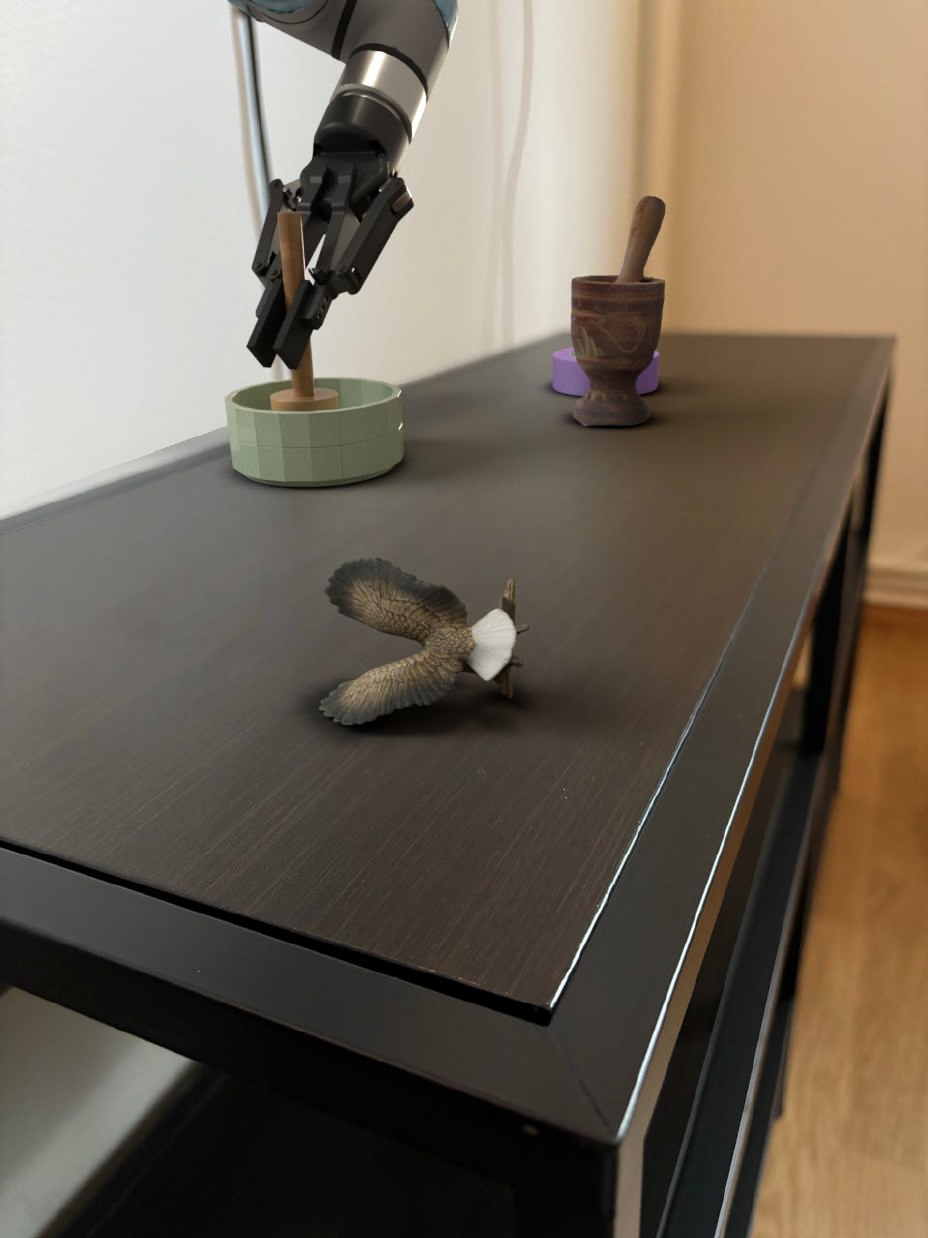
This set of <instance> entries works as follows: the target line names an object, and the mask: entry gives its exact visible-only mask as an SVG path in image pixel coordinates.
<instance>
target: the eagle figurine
mask: <svg viewBox="0 0 928 1238" xmlns="http://www.w3.org/2000/svg"><path fill="white" fill-rule="evenodd" d="M327 582H328V585H326V586H325V587H324V589H323V591H322V592H323V593H324V594H325V595H326V596H328V602H329V603H330V604H332V605H333V606H336V607H337V608H336V612H337V613H338V614H340V615H343V616H345V617H347V618H350V619H352V620H355V621H357V622H359V623H362V624H364V625H366V626H368V627H370V628H372V629H374V630H376V632H380V633H381V634H387V635H390V636H396V637H400V638H401V637H402V638H405V639H407V640H411V641H415V642H417V643H418V644H420V645H421V647H423V649H422V650H421V651H419V652H417V653H415V654H413V655H410V656H407V657H405V658H402V659H399V660H396V661H392V662H390V663H385V664H383V665H381V666H378V667H375V668H372V669H370V670H367V671H366V672H365V673H363V674H362V675H361V676H359V677H358V678H357V679H353V680H347V681H344V682H341V683H340V684H339V685H338V687H337V688H335V689H334V690H332V691H330V692H329V694H328V697H325V698H323V699H321V700H320V706H319V708H318V710H319V711H321V712H323V716H325V717H326V718H333V722H334V723H339V722H341V724H342V725H344V726H353V725H356V724H357V725H363V724H366V723H368V722H373V721H376V720H377V719H378V717H379V716H386V715H390V714H392V713H393V712H395V710H396V709H397V710H403V709H404V708H410V707H412V706H413V705H415V704H416V705H417V706H419V707H421V706H424V705H425V706H431V705H432V704H435V703H438V702H439V701H440V700H441V699H442V698H446V697H449V696H450V694H451V692H452V691H454V690H455V682H457V681H458V680H459V678H460V676H459V673H468V674H475V675H477V676H480V678H481V679H482V680H484V681H486V682H490V681H493V682H495V683H496V684H497V685H498V687H499V691H500V694H501V695H502V696H506V697H507V698H508V699H509V700H510V699H512V697H513V693H514V689H513V683H512V668H513V667H516V668H523V667H524V665H525V663H524V661H523V660H521V659H520V657H519V656H517V655H514V651H515V648H516V644H517V636H518V635H521V634H522V633H525V632H528V631H529V629H530V625H529V624H526V623H525V624H521V625H516V611H517V609H516V603H515V601H516V579H515V578H514V577H512V578H509V580H508V581H507V584H506V588H505V590H504V593H503V595H500V598H499V608H498V607H497V608H494V609H492V610H491V611H489V612H488V613H487V614H486V615H484V616H483V617H482V618H481V619H479V620H478V621H477V622H475V623H474V624H473V625H467V615H468V610H467V609H466V604H465V602H463V601H461V598H460V597H458V596H457V594H456V593H454V592H453V591H452V590H451V589H449V588H448V587H447V586H446V585H445V584H443V583H432V582H431V583H430V582H429V583H427V582H425V581H424V580H421V579H418V578H417V577H416V575H415V574H413V573H409V572H406V571H403V570H402V569H401V568H400V567H398V566H394V565H393V564H392V562H391V561H390V560H389V559H387V558H383V559H382V558H381V557H379V556H375V557H374V559H373V558H371V557H366V558H362V557H360V558H358V559H351V560H350V561H342V562H341V563H340V567H336V568H334V569H333V573H332V574H331V575H329V576H328V577H327Z"/></svg>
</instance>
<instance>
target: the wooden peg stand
mask: <svg viewBox="0 0 928 1238" xmlns="http://www.w3.org/2000/svg"><path fill="white" fill-rule="evenodd" d="M277 215H278V226H279V238H280V249H281V260H282V272H283V283H284V295H285V306H286V315H287V313H288V311H289V308H290V306H291V303H292V301H293V299H294V296H295V294H296V292H297V289H298V287H299V284H300V282H301V280H307V273H306V271H307V270H305V258H304V246H303V233H302V220H301V212H278V213H277ZM313 362H314V361H313V349H312V336H311V337H310V340H309V342H308V344H307V347H306V349H305V352H304V354H303V357H302V359H301V362H300V364H299V366H298V369H297V370H290V372H291V373H290V374H291V379H292V386H293V389H289V390H283V391H279V392H276V393H273V394H272V395H271V396H270V401H271V411H282V412H289V411H322V410H336V409H339V400H338V393H337V392H336V391H334V390H331V389H324V388H315V386H314V378H315V375H314V373H315V372H314V363H313Z"/></svg>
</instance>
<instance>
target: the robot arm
mask: <svg viewBox="0 0 928 1238" xmlns="http://www.w3.org/2000/svg"><path fill="white" fill-rule="evenodd" d="M226 1H227V2H228V3H229V4H231V6H234V7H236V8H237V9H239V10H240V11H242V12H244V13H246V14H247V15H248V16H250V17H251V18H253V19H254V21H255V22H258V23H262V24H266V25H268V26H270V27H272V28H274V29H276V30H278V31H280V32H282V33H283V34H286V35H288V36H290V37H292V38H294V39H295V40H298V41H299V42H302V43H304V44H306V45H308V46H310V47H311V48H314V49H316V50H318V51H320V52H322V53H324V54H326V55H328V56H330V57H331V58H332V59H334V60H336V61H338V62H341V63H343V64H344V65H345V66H344V68H343V70H342V72H341V74H340V77H339V78H338V81H337V83H336V85H335V88H334V89H333V92H332V94H331V97H330V98H329V102H328V104H327V107H326V108H325V110H324V112H323V115H322V117H321V120H320V121H319V124H318V127H317V129H316V130H315V133H314V136H313V140H312V141H313V143H312V156H311V159H310V161H309V162H308V164H307V165H306V166H304V167H303V168H302V170H301V171H300V174H299V178H297V179H295V180H293V181H290V182H288V183H286V184H284V182H283V181H282V179H281V178H274V179H273V180H271V181H270V182H269V184H268V191H269V199H270V200H269V204H268V207H267V208H268V209H267V212H266V215H265V218H264V222H263V226H262V229H261V231H260V236H259V239H258V243H257V246H256V250H255V253H254V257H253V260H252V264H251V268H250V269H251V270H252V272H253V274H254V275H255V276H256V277H257V279H258V280H259V282H260V283H261V284H262V286H264V290H263V293H262V294H261V297H260V300H259V302H258V305H257V306H256V308H255V317H256V318H257V320H256V323H255V325H254V327H253V330H252V332H251V334H250V337H249V339H248V342H247V344H246V346H245V347H246V348H247V350H248V351H249V352H250V353H251V354H252V356H253V357H254V358H255V359H256V361H257V362H258V363H259V364H260V366H261V367H262V368H265V369H266V368H267V369H271V368H272V366H273V364H274V362H275V359H276V357H277V356H278V357H279V359H280V360H281V361H282V362H283V364H284V365H285V366H286V368H287V369H288V370H290V371H291V370H297V369H298V366H299V364H300V362H301V359H302V357H303V354H304V352H305V349H306V347H307V344H308V342H309V340H310V337H311V338H312V335H313V332H314V331H319V330H320V329H321V328H322V327H323V326H324V325H323V324H324V322H325V320H326V317H327V315H328V312H329V310H330V308H331V306H332V305H331V304H332V302H333V301H334V300H336V299H337V298H338V297H339V296H340V295H341V294H344V293H347V294H349V295H350V296H354V295H357V294H358V293H360V291H361V290H362V288H363V286H364V285H365V283H366V281H367V279H368V277H369V275H370V274H371V273H372V270H373V268H374V267H375V265H376V263H377V261H378V259H379V258H380V256H381V254H382V252H383V250H384V249H385V247H386V245H387V243H388V242H389V240H390V238H391V236H392V234H393V233H394V231H395V230H396V227H397V226H398V223H399V222H400V221H402V219H403V218H405V216H406V215H407V214H409V212H410V211H411V210H412V209H414V207H415V200H414V198H413V196H412V194H411V193H410V190H409V188H408V186H407V184H406V181H405V179H404V178H403V177H400V176H399V175H400V171H401V170H402V167H403V164H404V162H405V160H406V157H407V155H408V152H409V146H410V145H411V143H412V141H413V139H414V136H415V134H416V131H417V128H418V126H419V123H420V120H421V118H422V115H423V113H424V111H425V108H426V106H427V103H428V102H429V98H430V96H431V94H432V92H433V89H434V87H435V85H436V82H437V80H438V77H439V75H440V72H441V71H442V68H443V66H444V64H445V61H446V58H447V55H448V54H449V50H450V48H451V45H452V40H453V37H454V36H455V35H454V34H455V33H456V32H455V31H456V28H457V25H458V22H459V21H458V20H459V5H458V0H226ZM278 212H301V220H302V233H303V246H304V258H305V271H307V272H308V274H309V275H310V277H311V278H312V279H313V283H312V281H311V280H310V279H306V280H301V282H300V284H299V287H298V289H297V292H296V294H295V296H294V299H293V301H292V303H291V306H290V308H289V311H288V313H287V315H286V306H285V295H284V283H283V272H282V260H281V249H280V238H279V226H278V215H277V213H278ZM323 237H324V238H323ZM322 239H323V241H322ZM321 241H322V245H321V246H320V247H321V248H320V250H319V254H318V257H317V259H316V264H315V266H314V267H311V268H310V267H308V266H309V264H310V263H311V260H312V258H313V257H314V254H315V253H316V251H317V249H318V247H319V245H320V243H321Z"/></svg>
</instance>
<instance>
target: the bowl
mask: <svg viewBox="0 0 928 1238" xmlns="http://www.w3.org/2000/svg"><path fill="white" fill-rule="evenodd" d="M314 386H315V388H324V389H331V390H334V391H336V392H337V393H338V400H339V409H336V410H322V411H289V412H282V411H271V401H270V396H271V395H272V394H273V393H276V392H279V391H283V390H289V389H293V386H292V378H288V379H281V380H272V381H266V382H261V383H256V384H252V385H248V386H244V387H241V388H239V389H236V390H233V391H231V392H230V393H228V394H227V395H226V396H224V405H225V414H226V423H227V429H228V431H227V432H228V440H229V448H230V456H231V457H230V458H231V463H232V468H233V470H235V471H237V472H239V473H240V474H242V475H243V476H244V477H245V478H247V479H249V480H251V481H254V482H257V483H261V484H265V485H271V486H277V487H289V488H317V487H318V488H319V487H320V488H321V487H331V486H332V487H333V486H339V485H340V486H341V485H347V484H352V483H358V482H362V481H366V480H369V479H374V478H376V477H379V476H381V475H384V474H386V473H387V472H390V471H391V470H392V469H393V468H394V466H395V465H397V464H399V463H400V462H402V460H403V457H404V454H405V449H404V448H405V447H404V446H405V445H404V427H403V425H404V424H403V405H402V403H403V401H402V390H401V389H400V388H399V387H398V385H395V384H393V383H392V384H391V383H389V382H386V381H383V380H377V379H371V378H364V377H363V378H361V377H344V376H333V377H332V376H329V377H328V376H326V377H325V376H323V377H322V376H321V377H320V376H319V377H318V376H317V377H315V376H314Z"/></svg>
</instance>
